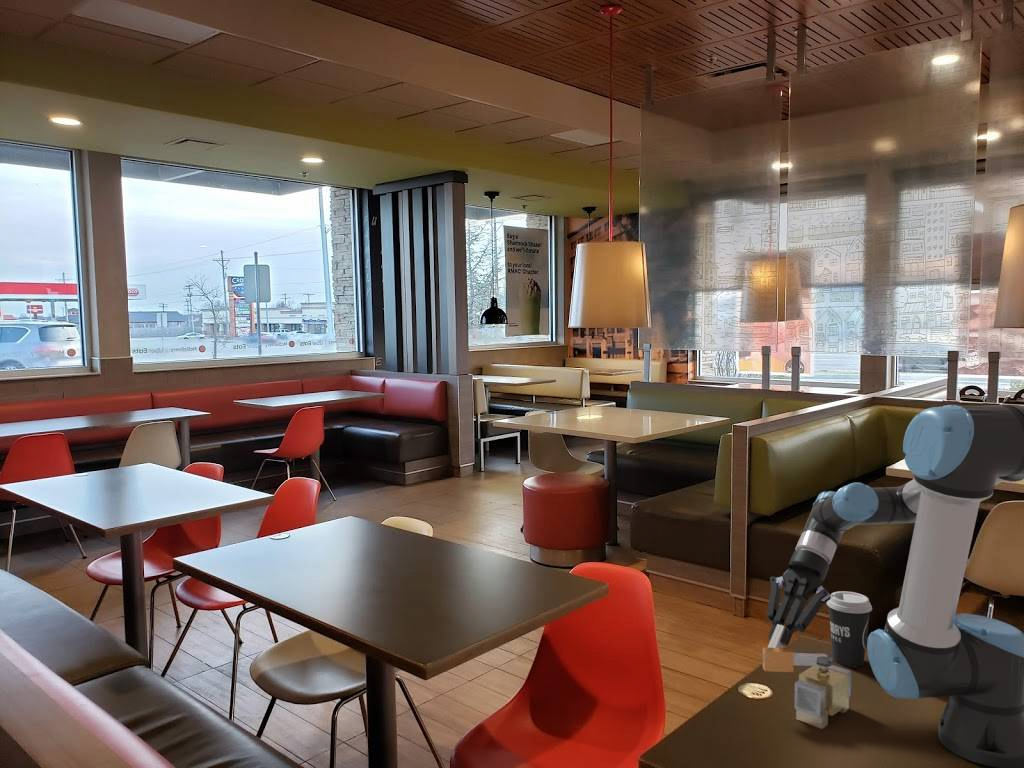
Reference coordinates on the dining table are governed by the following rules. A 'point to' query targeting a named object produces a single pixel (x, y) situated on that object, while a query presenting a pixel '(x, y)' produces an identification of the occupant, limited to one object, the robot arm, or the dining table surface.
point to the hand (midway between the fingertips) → (771, 656)
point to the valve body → (822, 694)
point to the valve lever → (793, 660)
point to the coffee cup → (849, 627)
